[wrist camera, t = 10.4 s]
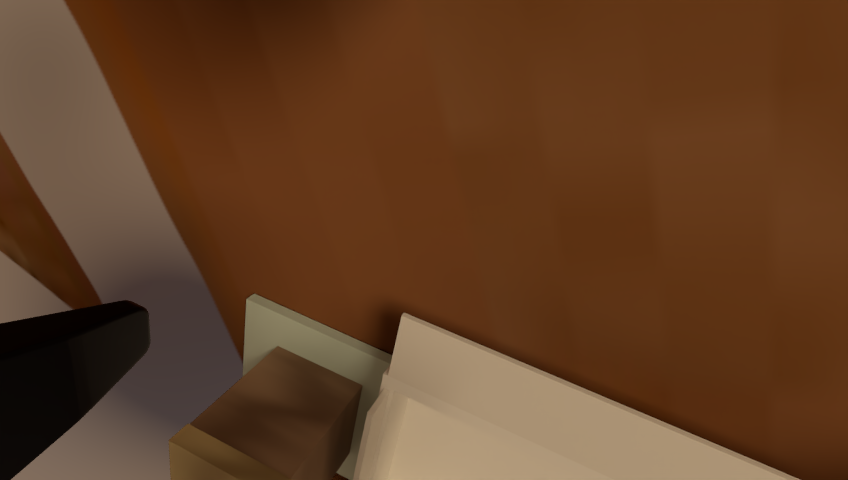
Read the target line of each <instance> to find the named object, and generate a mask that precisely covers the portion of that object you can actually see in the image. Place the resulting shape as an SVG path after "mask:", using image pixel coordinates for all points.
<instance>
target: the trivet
mask: <svg viewBox="0 0 848 480" xmlns="http://www.w3.org/2000/svg"><path fill="white" fill-rule="evenodd" d="M277 346H279V347H281V348H284V349H286V350H288V351H290V352H292V353H294V354H296V355H299V356H301V357H303V358H305V359H307V360H309V361H312V362H314V363H316V364H318V365H320V366H322V367H324V368H327V369H329V370H331V371H333V372H335V373H337V374H340V375H342V376H344V377H346V378H348V379H350V380H352V381H355V382H357V383H359V384H361V385H362V391H361V396H360V401H359V406H358V412H357V417H356V422H355V427H354V432H353V438H352V443H351V448H350V453H349V455H348V456H347V458H346V459H345V461H344V462H343V464H342V465H341V467H340V468H339V470H338V471H337V472H336V473H338V474H340V475H342V476H344V477H345V478H347V479H349V480H353V477H354V472H355V467H356V463H357V458H358V453H359V449H360V444H361V439H362V435H363V430H364V425H365V421H366V416H367V412H368V411H369V410H370V408H371V407H372V405H373V404H374V402H375V401H376V400H377V398H378V395H379V391H380V387H381V382H382V378H383V373H384V372H385V371H386V369H387V368H388V367H389V365H390V364H391V360H392V355H390V354H388V353H386V352H384V351H381V350H379V349H377V348H375V347H372V346H370V345H368V344H366V343H364V342H361V341H359V340H357V339H355V338H352V337H350V336H348V335H346V334H343V333H341V332H339V331H337V330H334V329H332V328H330V327H328V326H326V325H323V324H321V323H319V322H317V321H314V320H312V319H310V318H308V317H305V316H303V315H301V314H299V313H297V312H294V311H292V310H290V309H288V308H285V307H283V306H281V305H279V304H276V303H274V302H272V301H270V300H267V299H265V298H263V297H261V296H259V295H256V294H253V295H251V296H250V297H248V298H247V299H246V318H245V338H244V358H243V376H244V375H245V374H247V373H248V372H249V371H250V370H251V369H252V368H253V367H254V366H256V365H257V364H258V363H259V362H260V361H261V360H262V359H263V358H265V357H266V356H267V355H268V354H269V353H270V352H271V351H272V350H274V349H275V348H276V347H277Z"/></svg>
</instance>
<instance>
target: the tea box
mask: <svg viewBox="0 0 848 480" xmlns="http://www.w3.org/2000/svg"><path fill="white" fill-rule="evenodd" d="M361 391H362V385H361V384H359V383H357V382H355V381H352V380H350V379H348V378H346V377H344V376H342V375H340V374H337V373H335V372H333V371H331V370H329V369H327V368H324V367H322V366H320V365H318V364H316V363H314V362H312V361H309V360H307V359H305V358H303V357H301V356H299V355H296V354H294V353H292V352H290V351H288V350H286V349H284V348H281V347H279V346H277V347H276V348H275V349H274V350H272V351H271V352H270V353H269V354H268V355H267V356H266V357H265V358H263V359H262V360H261V361H260V362H259V363H258V364H257V365H256V366H254V367H253V368H252V369H251V370H250V371H249V372H248V373H247V374H245V375H244V376H243V377H242V378H241V379H240V380H239V381H238V382H236V383H235V384H234V385H233V386H232V387H231V388H230V389H229V390H227V391H226V392H225V393H224V394H223V395H222V396H221V397H220V398H218V399H217V400H216V401H215V402H214V403H213V404H212V405H211V406H210V407H208V408H207V409H206V410H205V411H204V412H203V413H202V414H201V415H200V416H198V417H197V418H196V419H195V420H194V421H193V422H192V423H190V424H187V425H186V426H185V427H183V428H182V429H181V430H180V431H179V432H178V433H177V434H175V436H173V437H172V438H171V439H170V440H169V454H170V472H171V473H170V474H171V480H332V478H333V477H334V475H335V474H336V472H337V471H338V470H339V468H340V467H341V465H342V464H343V462H344V461H345V459H346V458H347V456H348V455H349V453H350V448H351V443H352V438H353V432H354V427H355V422H356V417H357V412H358V406H359V401H360V396H361Z"/></svg>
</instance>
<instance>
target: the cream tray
mask: <svg viewBox="0 0 848 480" xmlns="http://www.w3.org/2000/svg"><path fill="white" fill-rule="evenodd" d="M353 480H800V479H798V478H795V477H793V476H791V475H788V474H786V473H784V472H781V471H779V470H776V469H774V468H772V467H769V466H767V465H765V464H762V463H760V462H757V461H755V460H753V459H750V458H748V457H746V456H743V455H741V454H739V453H736V452H734V451H731V450H729V449H727V448H724V447H722V446H720V445H717V444H715V443H712V442H710V441H708V440H705V439H703V438H701V437H698V436H696V435H693V434H691V433H689V432H686V431H684V430H682V429H679V428H677V427H675V426H672V425H670V424H667V423H665V422H663V421H660V420H658V419H656V418H653V417H651V416H648V415H646V414H644V413H641V412H639V411H637V410H634V409H632V408H629V407H627V406H625V405H622V404H620V403H618V402H615V401H613V400H611V399H608V398H606V397H603V396H601V395H599V394H596V393H594V392H592V391H589V390H587V389H584V388H582V387H580V386H577V385H575V384H573V383H570V382H568V381H565V380H563V379H561V378H558V377H556V376H554V375H551V374H549V373H547V372H544V371H542V370H539V369H537V368H535V367H532V366H530V365H528V364H525V363H523V362H520V361H518V360H516V359H513V358H511V357H509V356H506V355H504V354H501V353H499V352H497V351H494V350H492V349H490V348H487V347H485V346H483V345H480V344H478V343H475V342H473V341H471V340H468V339H466V338H464V337H461V336H459V335H456V334H454V333H452V332H449V331H447V330H445V329H442V328H440V327H437V326H435V325H433V324H430V323H428V322H426V321H423V320H421V319H419V318H416V317H414V316H411V315H409V314H407V313H403V315H402V316H401V321H400V325H399V329H398V334H397V338H396V342H395V347H394V351H393V355H392V360H391V364H390V365H389V367H388V368H387V369H386V371H385V372H384V373H383V378H382V382H381V387H380V391H379V395H378V398H377V400H376V401H375V402H374V404H373V405H372V407H371V408H370V410H369V411H368V412H367V416H366V421H365V425H364V430H363V435H362V439H361V444H360V449H359V453H358V458H357V463H356V467H355V472H354V477H353Z"/></svg>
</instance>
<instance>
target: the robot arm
mask: <svg viewBox="0 0 848 480" xmlns="http://www.w3.org/2000/svg"><path fill="white" fill-rule="evenodd" d="M149 345H150V328H149V315H148V311H147V310H146V309H145V308H144V307H142V306H140V305H138V304H136V303H134V302H132V301H128V300H124V301H118V302H113V303H107V304H102V305H96V306H91V307H86V308H81V309H75V310H70V311H65V312H60V313H55V314H49V315H44V316H39V317H33V318H28V319H23V320H17V321H12V322H7V323H1V324H0V480H11V479H12V478H13V477H14V476H15V475H16V474H18V473H19V472H20V471H21V470H22V469H24V468H25V467H26V466H27V465H28V464H29V463H30V462H32V461H33V460H34V459H35V458H36V457H38V456H39V455H40V454H41V453H42V452H43V451H44V450H46V449H47V448H48V447H49V446H50V445H51V444H53V443H54V442H55V441H56V440H57V439H58V438H60V437H61V436H62V435H63V434H64V433H65V432H66V431H68V430H69V429H70V428H71V427H72V426H73V425H75V424H76V423H77V422H78V421H79V420H80V419H81V418H82V417H83V416H84V415H85V414H86V413H87V412H88V411H89V410H90V409H92V408H93V406H95V404H96V403H97V402H98V401H99V400H100V399H101V398H102V397H103V396H104V395H105V394H106V393H107V392H108V391H109V390H110V389H111V388H112V387H113V386H114V385H115V384H116V383H117V382H118V381H119V380H120V379H121V378H122V377H123V376H124V375H125V374H126V373H127V372H128V371H129V370H130V369H131V368H132V367H133V366H134V365H135V364H136V362H137V361H139V359H141V358H142V357H143V355H144V354H145V353H146V352H147V350H148V348H149Z"/></svg>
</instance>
